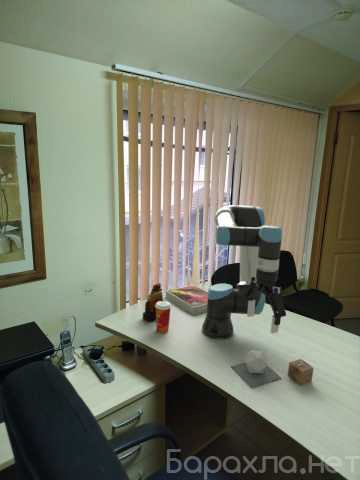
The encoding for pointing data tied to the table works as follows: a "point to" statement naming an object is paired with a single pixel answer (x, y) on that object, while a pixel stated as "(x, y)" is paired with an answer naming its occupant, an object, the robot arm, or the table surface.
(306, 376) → the letter block
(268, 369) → the grey mat
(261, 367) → the die
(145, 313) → the statue
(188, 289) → the product packaging
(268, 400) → the table surface
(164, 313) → the paper cup
